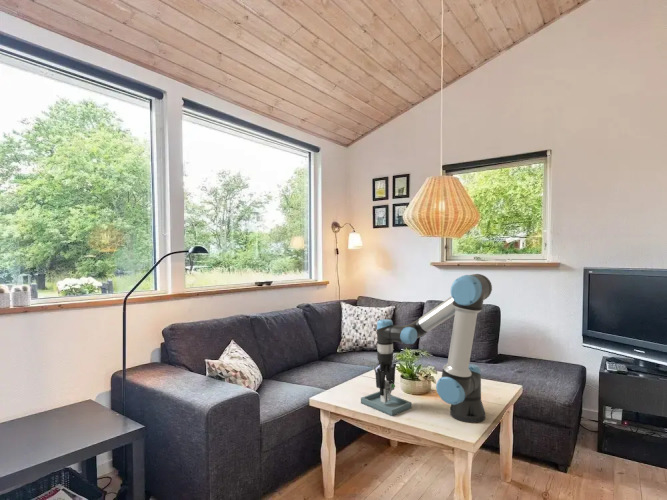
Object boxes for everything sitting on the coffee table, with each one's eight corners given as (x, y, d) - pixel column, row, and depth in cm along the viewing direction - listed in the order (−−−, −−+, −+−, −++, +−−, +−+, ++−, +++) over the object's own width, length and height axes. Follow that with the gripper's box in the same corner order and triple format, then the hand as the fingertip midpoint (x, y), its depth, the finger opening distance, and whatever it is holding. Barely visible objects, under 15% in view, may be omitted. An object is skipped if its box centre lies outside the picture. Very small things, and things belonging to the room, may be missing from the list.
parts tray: (411, 407, 182) (411, 402, 182) (391, 416, 173) (391, 410, 173) (380, 395, 197) (380, 390, 197) (360, 403, 188) (360, 397, 188)
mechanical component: (392, 405, 180) (391, 384, 180) (375, 399, 188) (375, 379, 188) (396, 404, 182) (395, 383, 182) (379, 398, 190) (379, 377, 190)
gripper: (390, 347, 193) (391, 394, 193) (367, 353, 183) (368, 402, 183) (402, 350, 187) (402, 398, 187) (379, 356, 177) (380, 407, 177)
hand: (385, 400), depth 185 cm, fingers closed on mechanical component, 3 cm apart
